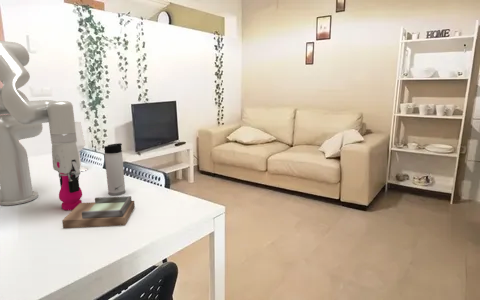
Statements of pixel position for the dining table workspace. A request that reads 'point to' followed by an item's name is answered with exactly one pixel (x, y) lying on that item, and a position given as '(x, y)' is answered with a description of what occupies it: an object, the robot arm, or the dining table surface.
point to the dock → (100, 213)
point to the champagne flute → (79, 141)
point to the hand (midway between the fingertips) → (70, 189)
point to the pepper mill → (68, 193)
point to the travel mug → (114, 169)
